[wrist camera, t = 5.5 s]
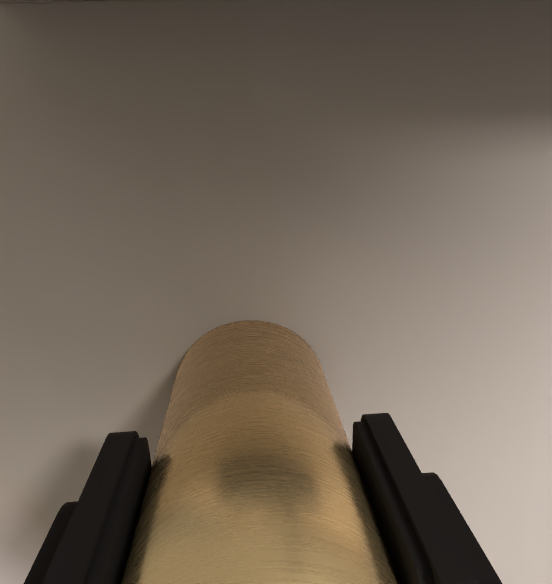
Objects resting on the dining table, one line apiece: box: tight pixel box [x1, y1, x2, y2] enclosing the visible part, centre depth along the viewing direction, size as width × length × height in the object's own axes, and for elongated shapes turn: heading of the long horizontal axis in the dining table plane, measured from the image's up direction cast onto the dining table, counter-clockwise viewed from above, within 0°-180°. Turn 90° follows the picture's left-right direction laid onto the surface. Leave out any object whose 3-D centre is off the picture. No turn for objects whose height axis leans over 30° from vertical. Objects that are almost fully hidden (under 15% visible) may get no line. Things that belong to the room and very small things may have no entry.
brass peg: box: [121, 321, 400, 584], centre depth 9 cm, size 4×4×10 cm
